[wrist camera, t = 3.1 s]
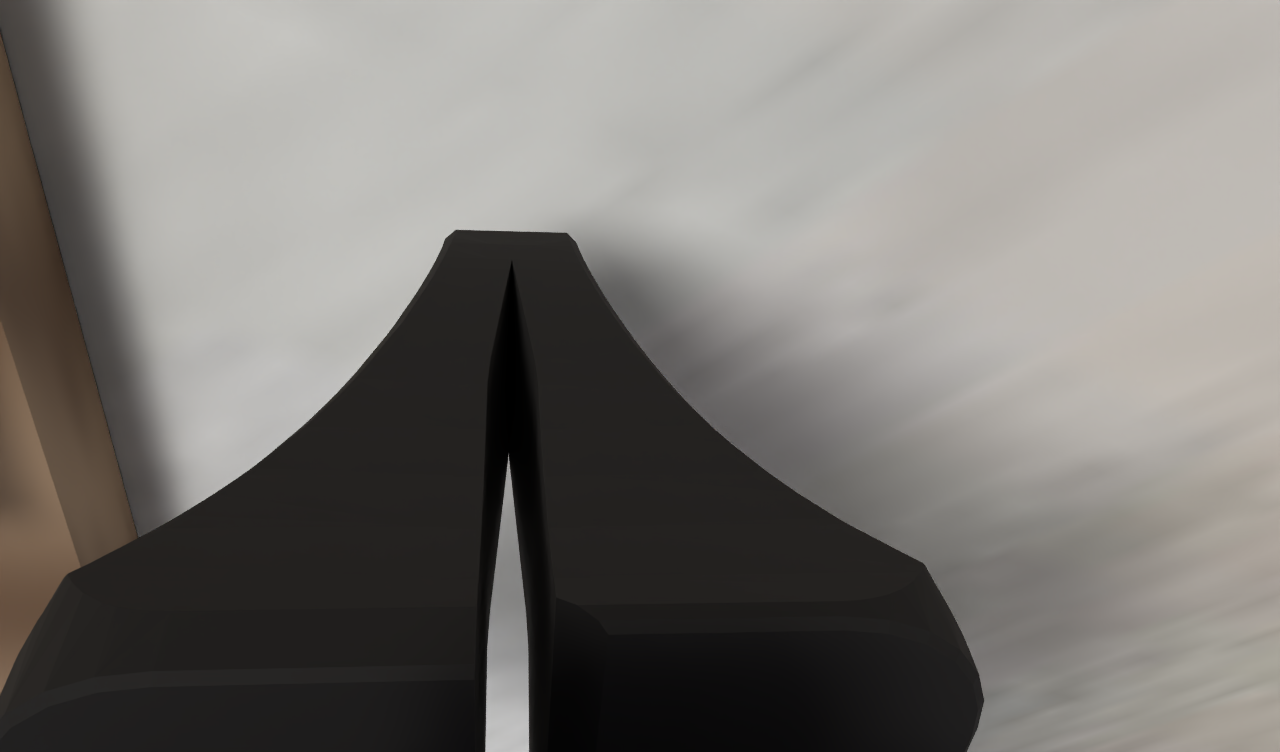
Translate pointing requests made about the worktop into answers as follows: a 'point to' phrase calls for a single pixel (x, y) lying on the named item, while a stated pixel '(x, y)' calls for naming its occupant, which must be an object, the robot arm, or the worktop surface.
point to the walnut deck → (44, 406)
